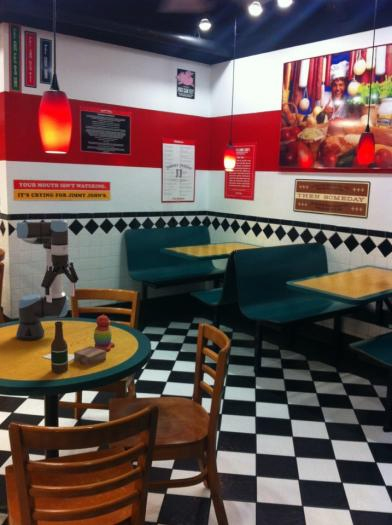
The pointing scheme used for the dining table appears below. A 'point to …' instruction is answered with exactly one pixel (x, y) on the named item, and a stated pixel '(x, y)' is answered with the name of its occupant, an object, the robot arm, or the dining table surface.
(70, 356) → the page
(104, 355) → the walnut base brick
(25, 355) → the dining table surface
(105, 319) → the stacking bear
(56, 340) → the beer bottle
